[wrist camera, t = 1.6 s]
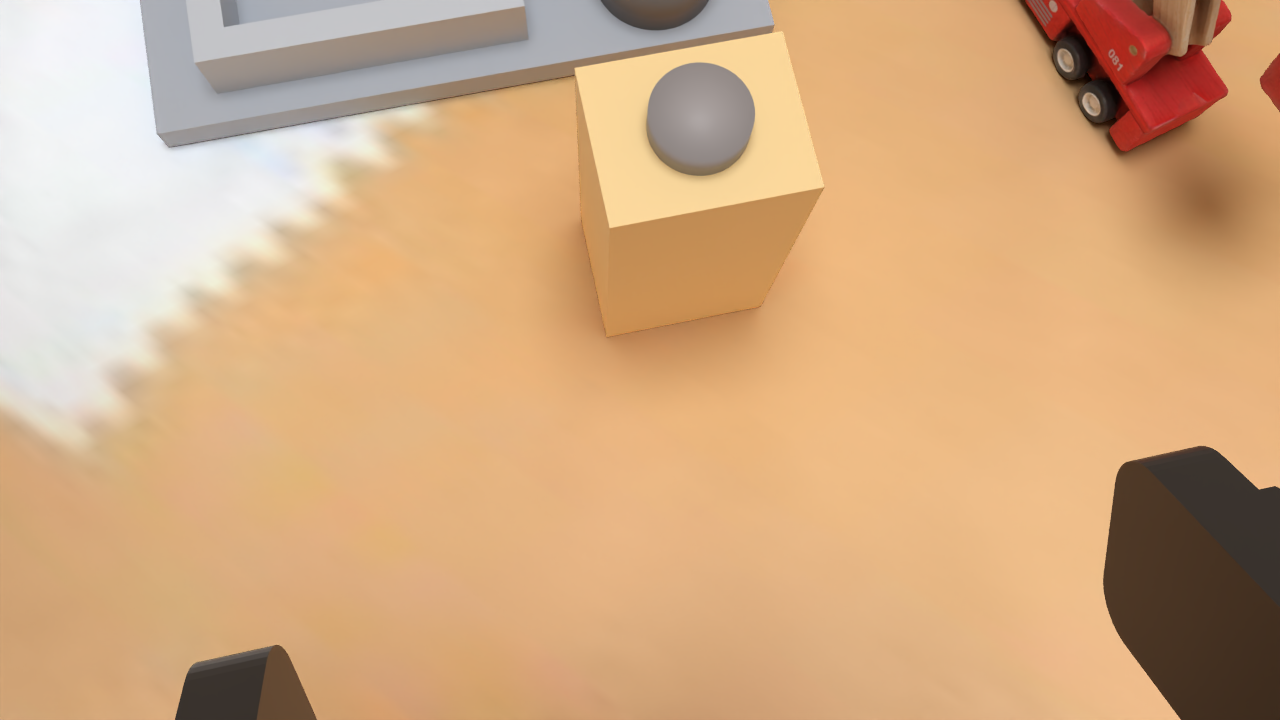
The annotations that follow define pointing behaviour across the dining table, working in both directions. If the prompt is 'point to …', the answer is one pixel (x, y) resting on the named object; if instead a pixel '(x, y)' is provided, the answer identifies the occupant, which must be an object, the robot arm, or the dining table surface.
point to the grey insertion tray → (394, 52)
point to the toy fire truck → (1141, 60)
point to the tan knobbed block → (692, 179)
